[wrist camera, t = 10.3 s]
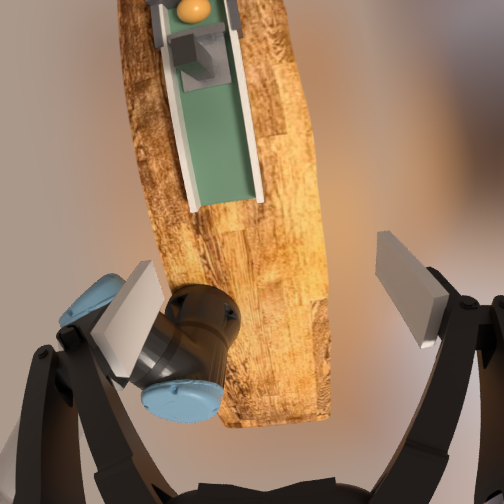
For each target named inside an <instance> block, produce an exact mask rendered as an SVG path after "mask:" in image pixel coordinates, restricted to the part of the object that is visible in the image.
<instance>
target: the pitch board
mask: <svg viewBox="0 0 504 504" xmlns="http://www.w3.org/2000/svg"><path fill="white" fill-rule="evenodd" d="M208 1H209V2H210V4H211V12H210V14H209V16H208V17H207V18H206V19H205V20H204V21H202V22H200V23H196V24H189V23H185V22H183V21H182V20H181V19H180V18H179V17H178V15H177V7H176V8H173V9H169V10H167V8H166V7H165V6H164V5H163V4H160V5H159V10H160V19H161V27H162V35H163V43H164V47H161V53H162V60H163V67H164V74H165V81H166V87H167V93H168V99H169V105H170V111H171V117H172V123H173V128H174V134H175V139H176V144H177V149H178V155H179V160H180V165H181V170H182V174H183V179H184V184H185V189H186V193H187V198H188V203H189V207H190V212H191V213H194V212H197V211H198V210H199V208H200V207H201V206H205V205H212V204H218V203H225V202H232V201H239V200H246V199H253V198H256V199H257V203H262V202H264V194H263V187H262V180H261V173H260V166H259V159H258V153H257V146H256V140H255V133H254V127H253V120H252V114H251V108H250V101H249V95H248V89H247V83H246V77H245V71H244V65H243V59H242V53H241V48H240V42H239V37H238V33H237V30H234V31H233V28H232V23H231V17H230V12H229V6H228V1H227V0H208ZM221 22H224V24H225V26H226V29H227V34H228V38H225V43H226V49H227V55H228V61H229V67H230V73H231V79H232V84H226V85H220V86H215V87H210V88H205V89H200V90H196V91H191V92H187V93H185V92H184V88H183V81H182V75H181V70H179V69H178V68H176V67H174V61H173V54H172V47H171V45H170V44H169V40H168V35H170V34H174V33H177V32H181V31H185V30H189V29H193V28H197V27H202V26H206V25H211V24H216V23H221Z"/></svg>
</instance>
